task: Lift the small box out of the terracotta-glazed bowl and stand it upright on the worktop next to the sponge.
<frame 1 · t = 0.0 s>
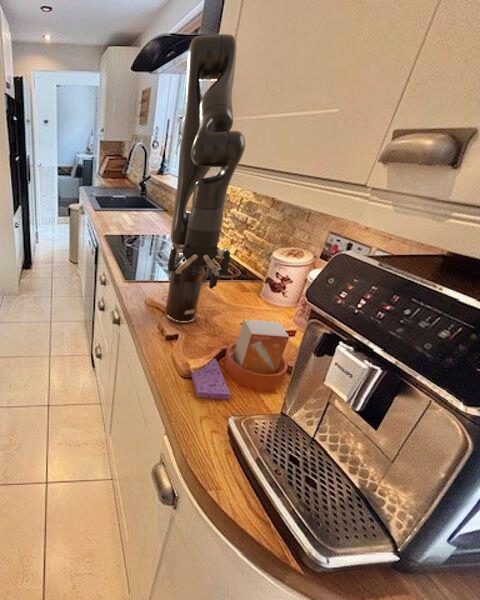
hand: (193, 286, 85), 17 cm above the worktop, tool pointing down, fingers open, 8 cm apart
small box: (251, 372, 80), resting on bowl
bowl: (251, 373, 81), on the worktop
sponge: (206, 380, 79), on the worktop
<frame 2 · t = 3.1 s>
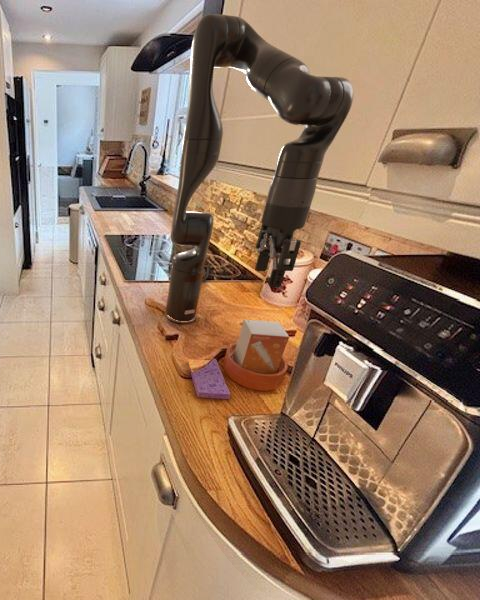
hand: (266, 278, 70), 25 cm above the worktop, tool pointing down, fingers open, 8 cm apart
nothing on the worktop moved.
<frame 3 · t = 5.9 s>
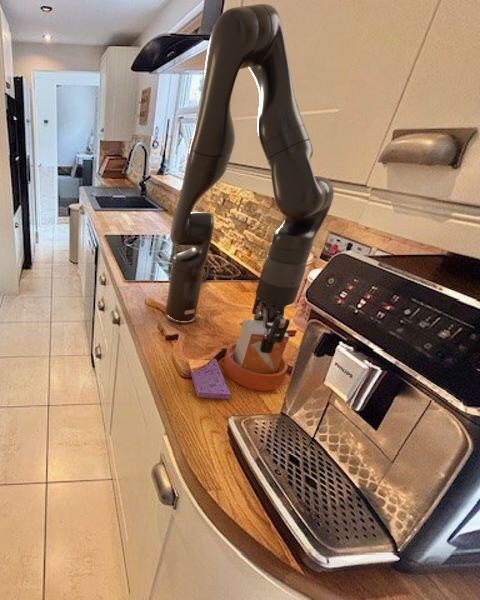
hand: (260, 342, 76), 9 cm above the worktop, tool pointing down, fingers closed on small box, 6 cm apart
small box: (251, 372, 80), resting on bowl, touching gripper
everything else where it was.
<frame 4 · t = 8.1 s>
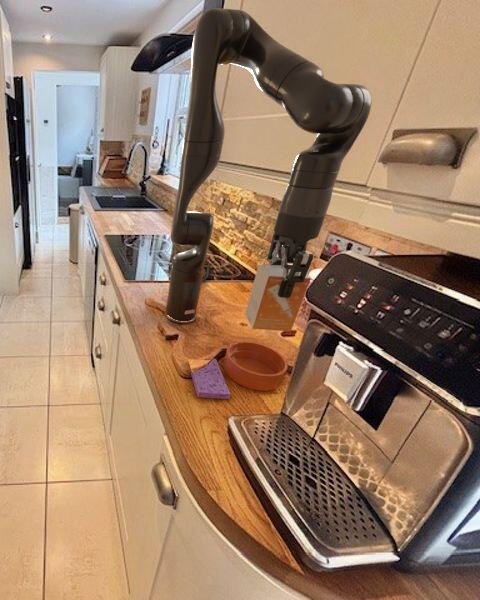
hand: (277, 289, 69), 23 cm above the worktop, tool pointing down, fingers closed on small box, 6 cm apart
small box: (266, 324, 74), point 15 cm above the worktop, touching gripper
everything else where it was.
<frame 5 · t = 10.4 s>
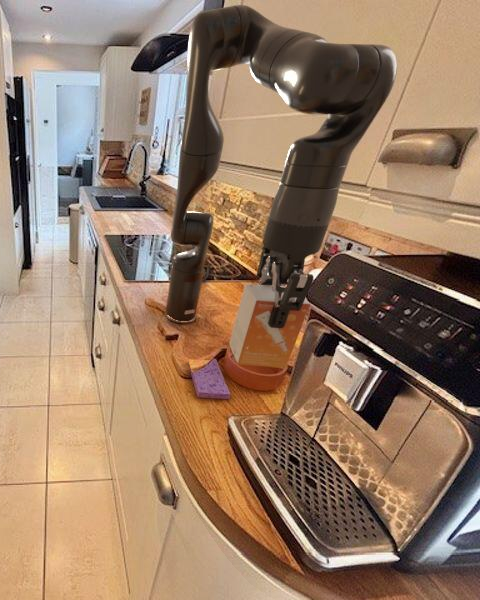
hand: (268, 315, 55), 26 cm above the worktop, tool pointing down, fingers closed on small box, 6 cm apart
small box: (255, 357, 59), point 17 cm above the worktop, touching gripper
everything else where it was.
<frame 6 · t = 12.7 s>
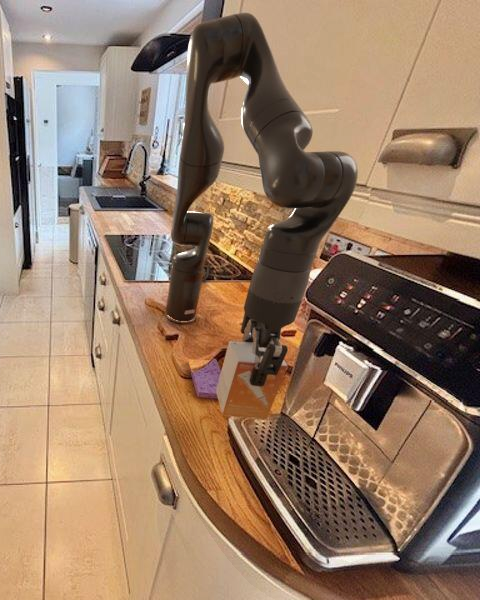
hand: (250, 371, 59), 15 cm above the worktop, tool pointing down, fingers closed on small box, 6 cm apart
small box: (239, 406, 64), point 6 cm above the worktop, touching gripper
everything else where it was.
when the fingers open (9 cm above the worktop, at t = 14.7 s): small box stays where it is, on the worktop.
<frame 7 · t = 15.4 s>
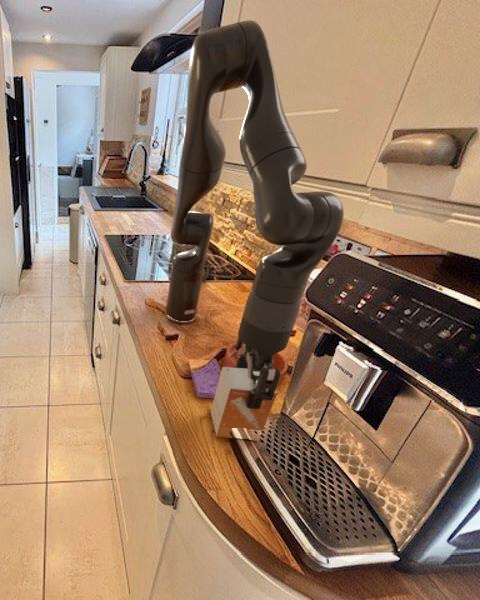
hand: (245, 390, 62), 10 cm above the worktop, tool pointing down, fingers open, 8 cm apart
small box: (233, 427, 67), on the worktop
everything else where it was.
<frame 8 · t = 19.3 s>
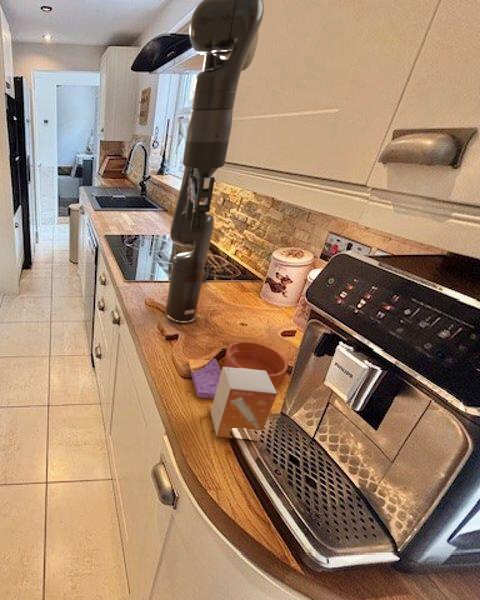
hand: (193, 225, 67), 36 cm above the worktop, tool pointing down, fingers open, 8 cm apart
nothing on the worktop moved.
at the end: small box inside the target area (0.1 cm from its centre), on the worktop; small box tilted 0°; sponge moved 0.2 cm from its start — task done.
